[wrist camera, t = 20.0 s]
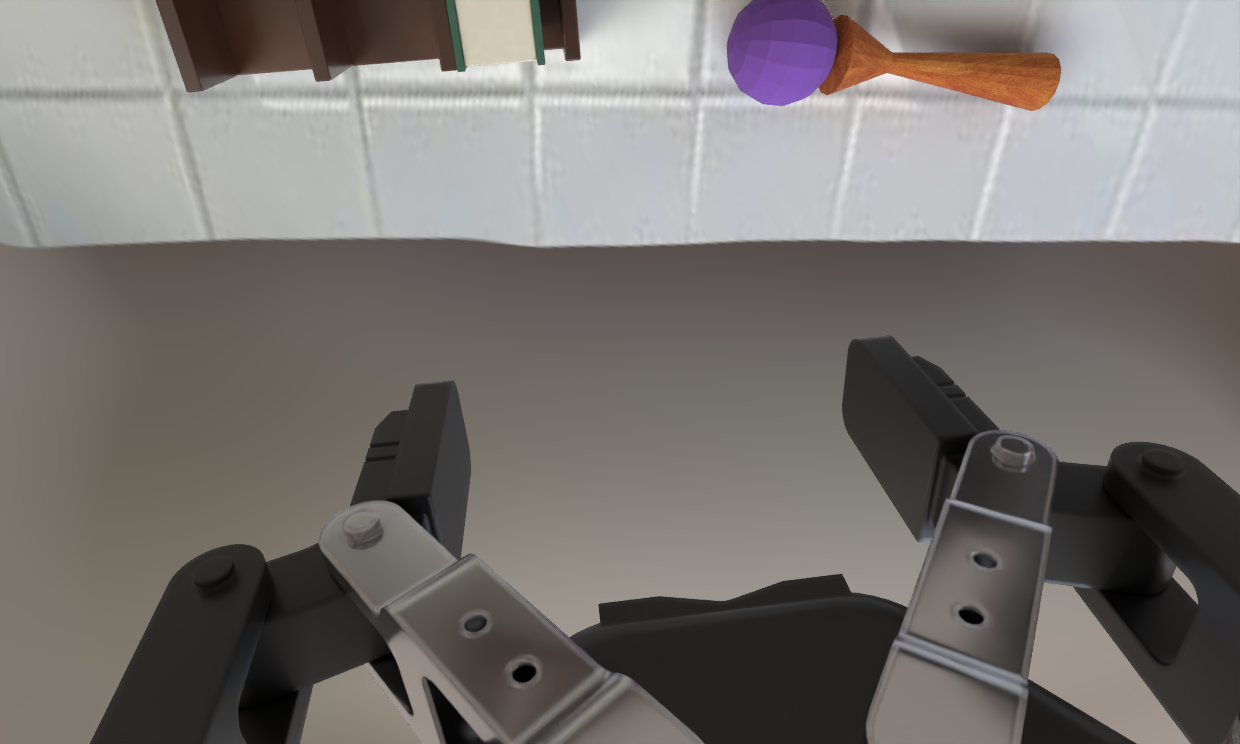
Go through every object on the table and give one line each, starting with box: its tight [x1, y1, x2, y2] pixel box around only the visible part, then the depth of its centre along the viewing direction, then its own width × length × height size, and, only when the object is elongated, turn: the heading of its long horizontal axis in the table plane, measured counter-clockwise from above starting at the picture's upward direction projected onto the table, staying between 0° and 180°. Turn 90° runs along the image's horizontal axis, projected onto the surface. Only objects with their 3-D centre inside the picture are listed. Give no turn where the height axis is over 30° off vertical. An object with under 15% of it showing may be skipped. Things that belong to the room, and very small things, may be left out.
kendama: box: [727, 0, 1061, 111], centre depth 43 cm, size 6×6×20 cm
